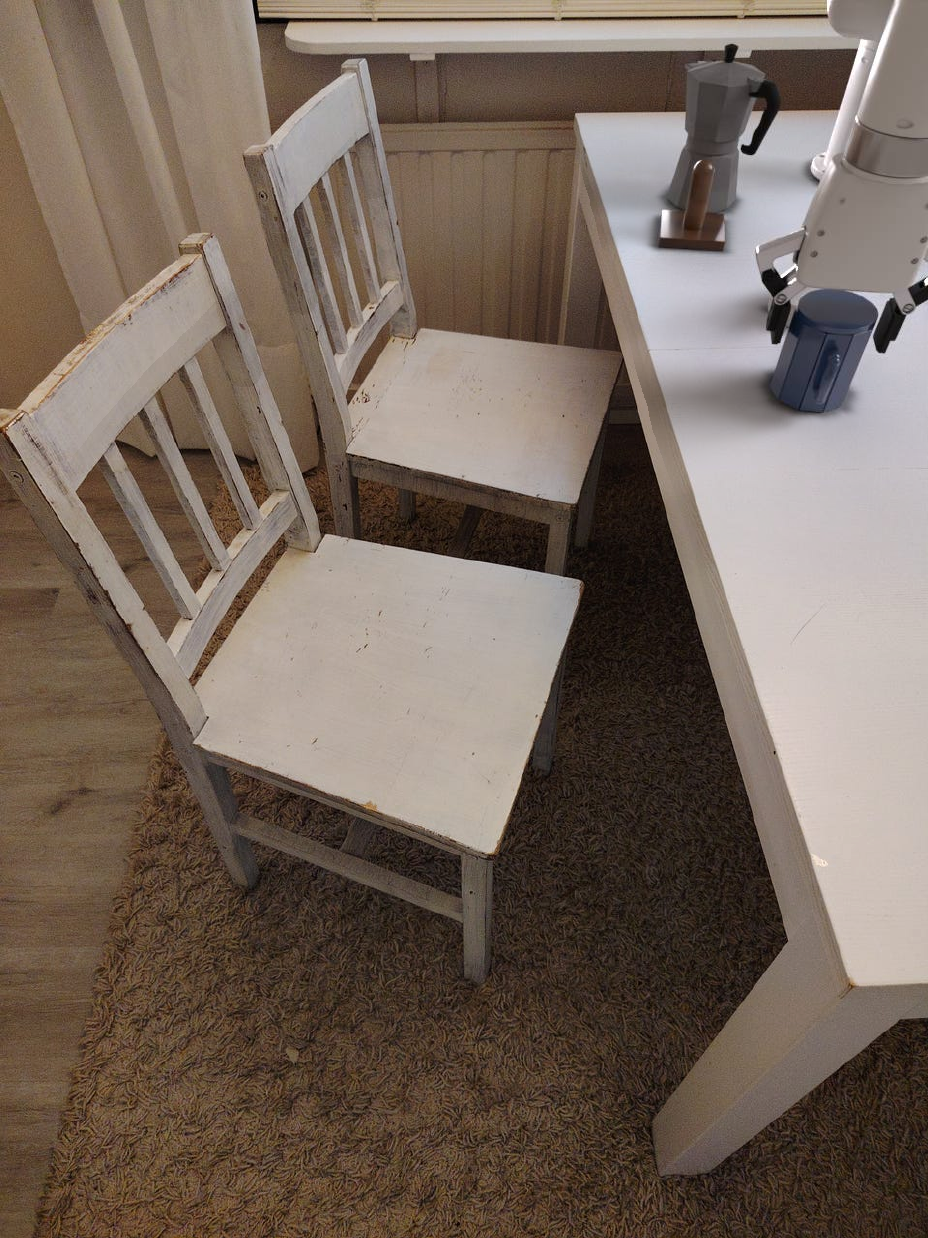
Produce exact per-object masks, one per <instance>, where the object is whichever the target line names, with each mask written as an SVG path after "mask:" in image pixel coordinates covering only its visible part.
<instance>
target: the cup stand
mask: <svg viewBox="0 0 928 1238" xmlns="http://www.w3.org/2000/svg"><path fill="white" fill-rule="evenodd" d="M714 172H715V167H714V164H713V163H712V162H711V161H710V160H708V159H702V160H700V161H698V162H697V163H696V164H695V166H694V168H693V173H692V178H691V183H690V188H689V194H688V199H687V204H686V210H674V209H673V210H670V209H662V210H661V216H660V227H659V238H658V239H659V241H658V247H659V248H670V249H672V248H673V249H685V250H686V249H687V250H702V251H715V252H716V251H718V252H723V251H724V248H725V244H726V230H725V227H726V226H725V213H724V212H723V213H721V212H715V213H707V212H706V210H707V206H708V201H709V196H710V191H711V186H712V182H713V177H714Z"/></svg>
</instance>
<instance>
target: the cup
mask: <svg viewBox="0 0 928 1238" xmlns="http://www.w3.org/2000/svg"><path fill="white" fill-rule="evenodd" d="M878 318H879V310H878V308H877V307H876V305H875V304H874V303H872V301H870V300H869V299H867V298H866V297H864V296H862V295H860V294H858V293H855V292H853V293H852V292H848V291H843V290H831V289H821V290H814V291H811V292H808V293H806V294H804V295H803V296H802V297H801V298H800V299H799V301H798V304H797V307H796V308H795V310H794V313H793V316H792V319H791V322H790V325H789V327H787V328H788V329H787V332H786V335H785V338H784V341H783V344H782V347H781V350H780V353H779V357H778V360H777V362H776V366H775V369H774V372H773V375H772V377H771V381H770V384H769V389H770V390H771V391H772V393H773V395H774V396H775V399H777V401H779V402H781V403H783V404H785V405H787V406H789V407H790V408H793V409H795V410H796V411H798V410H799V411H801V412H812V413H813V412H814V413H826V412H829V411H831V410H835V409H838V408H840V407H841V406H843V404H844V402H845V398H846V396H847V394H848V392H849V389H850V386H851V384H852V381H853V379H854V376H855V375H856V372H857V370H858V367H859V365H860V363H861V360H862V357H863V355H864V352H865V350H866V348H867V346H868V343H869V341H870V338H871V335H872V334H873V331H874V329H875V327H876V325H877V321H878Z"/></svg>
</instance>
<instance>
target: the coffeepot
mask: <svg viewBox="0 0 928 1238" xmlns="http://www.w3.org/2000/svg"><path fill="white" fill-rule="evenodd" d="M739 48H740V46H739V45H737V44H735V43H727V44H726V45H724V53H723V54H724V55H723V60H716V61H707V60H698V61H695V60H693V61H691V62H689V63H684V68H685V69H686V71H687V73H686V93H685V95H686V96H685V99H686V100H685V114H684V115H685V117H684V118H685V120H684V130H685V132H686V133H687V135H686V140H685V145H684V146H683V147H682V149H681V152H680V155H679V157H678V161H677V164H676V168H675V170H674V173H673V176H672V180H671V182H670V184H669V188H668V191H667V194H666V197H667V198H668V200H669V201H670V203H671V204H672V205H673V206H674V207H676V208H678V209H680V210H682V211H685V210H686V204H687V199H688V194H689V188H690V183H691V178H692V173H693V168H694V166H695V164H696V163H697V162H698V161H700V160H702V159H708V160H710V161H711V162H712V163H713V164H714V167H715V172H714V177H713V182H712V186H711V191H710V196H709V201H708V206H707V210H706V212H707V213H721V212H723V211H725V210H728V209H729V208H730V207H731V206H732V205H733V203H734V202H735V200H737V199H736V198H737V184H738V174H739V173H738V171H739V158H740V152H741V153H742V154H743V155H746V156H750V157H751V156H754V155H756V153H757V152H758V150H759V148H760V146H761V144H762V143H763V140H764V139H765V137H766V135H767V133H768V131H769V129H770V128H771V126H772V124H773V122H774V121H775V119H776V116H777V115H778V114H779V112H780V109H781V106H782V97H781V94H780V91H779V87H778V84H777V83H776V82H774V81H771V80H768V79H766V78H765V76H766V73H764V72H763V71H761V70H760V69H758V68H757V67H756V66H754V65H753V64H749V63H744V62H739V61H734V60H735V58H736V55H737V52H738V50H739ZM757 99H763V100H765V103H766V107H765V108H764V110H763V112H762V113H761V117H760V120H759V123H758V125H757V126H756V128H755V129H754V131H753V132H752V137H751V141H750V143H749V145H747V144H744V143H741V145H740V150H739V148H738V146H739V141H740V137H742V135H743V134H744V133H745V131H746V128H747V125H748V123H749V120H750V117H751V114H752V112H753V109H754V107H755V103H756V101H757Z"/></svg>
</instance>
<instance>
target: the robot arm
mask: <svg viewBox="0 0 928 1238" xmlns="http://www.w3.org/2000/svg"><path fill="white" fill-rule="evenodd" d="M826 7H827V17H828V23H829V24H830V26H831V28H832V29H833V31H834V32H836V34H838V35H840V36H842V37H844V38H847V39H853V40H860V42H859V46H858V49H857V52H856V56H855V59H854V62H853V64H852V69H851V72H850V75H849V78H848V81H847V85H846V88H845V91H844V95H843V98H842V101H841V105H840V107H839V111H838V114H837V116H836V117H837V118H836V121H835V124H834V127H833V131H832V134H831V137H830V140H829V143H828V147H827V150H826V151H822V152H820V153H818V154H816V156H814V158H813V159H812V162H811V165H810V171H811V173H812V175H813V176H814V178H816V179H817V180H819V183H818V184H817V185H818V186H817V187H816V190H815V193H813V196H812V199H811V202H810V204H809V207H808V209H807V212H806V214H805V217H804V220H803V223H802V226H801V227H800V229H798V230H796V231H793V232H790V233H788V234H785V235H782V236H780V237H777V238H774V239H772V240H769V241H766V242H764V243H762V244H759V245H757V246H756V248H755V251H754V252H755V260H756V264H757V268H758V272H759V276H760V279H761V283H762V285H763V286H764V288H765V289H766V290H767V291H768V293H769V294H770V296H771V295H772V297H773V300H772V304H771V307H770V311H769V312H768V314H767V317H766V321H765V331H767V332H769V333H770V342H771V345H779V344H781V342H782V338H783V335H784V332H785V329H786V327H787V326H786V323H787V320H788V317H789V314H790V310H791V302H790V299H791V298H793V297H794V296H795V295H797V294H798V293H799V292H801V291H802V290H803V289H805V288H806V287H811V288H819V289H831V290H844V291H853V292H856V293H857V292H858V293H859V292H860V293H862V292H863V293H871V294H873V293H874V294H892V296H893V297H889V300H887V301H886V303H885V305H884V308H883V309H882V311H881V315H880V317H879V320H878V322H877V323H876V326H875V328H874V330H873V331H874V332H873V333H872V340H873V343H874V347H875V351H876V352H877V353H878V354H886V352H887V350H888V348H889V345H890V343H891V342H895V341H896V340H897V338H898V336H899V334H900V331H901V329H902V328H903V324H904V323H905V320H906V318H907V316H908V315H911V314H913V313H914V312H915V311H916V309H917V307H919V306H920V305H922V304H923V303H926V302H927V301H928V275H927V276H925V277H924V278H922V279H920V280H919V281H917V282H915V280H916V278H917V276H918V273H919V271H920V269H921V266H922V263H923V262H924V261H925V262H926V263H928V0H827V6H826ZM790 254H792V263H793V264H794V265H792V267H791V268H789V269H788V270H787V271H784V273H782V274H781V275H780V273H779V271H777V269H776V267H775V266H774V265H775V264H774V261H776V260H777V259H779V258H783V257H785V256H787V255H790ZM914 282H915V283H914ZM913 283H914V284H913Z"/></svg>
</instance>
